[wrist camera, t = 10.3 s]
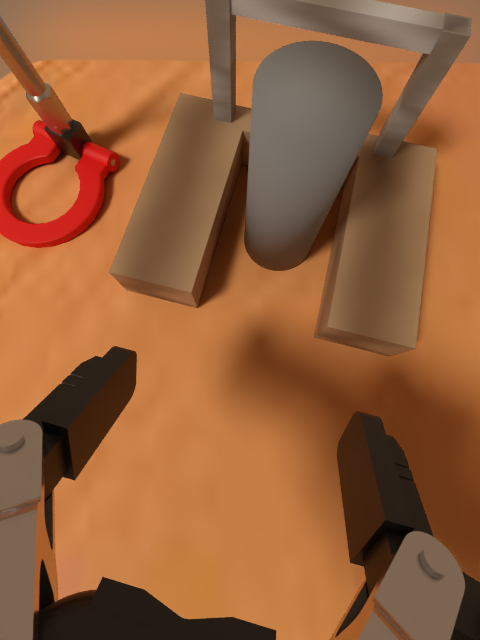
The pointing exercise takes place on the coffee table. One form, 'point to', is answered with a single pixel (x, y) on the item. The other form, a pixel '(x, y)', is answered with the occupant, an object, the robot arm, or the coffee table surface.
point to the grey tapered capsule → (303, 144)
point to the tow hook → (50, 157)
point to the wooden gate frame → (359, 186)
